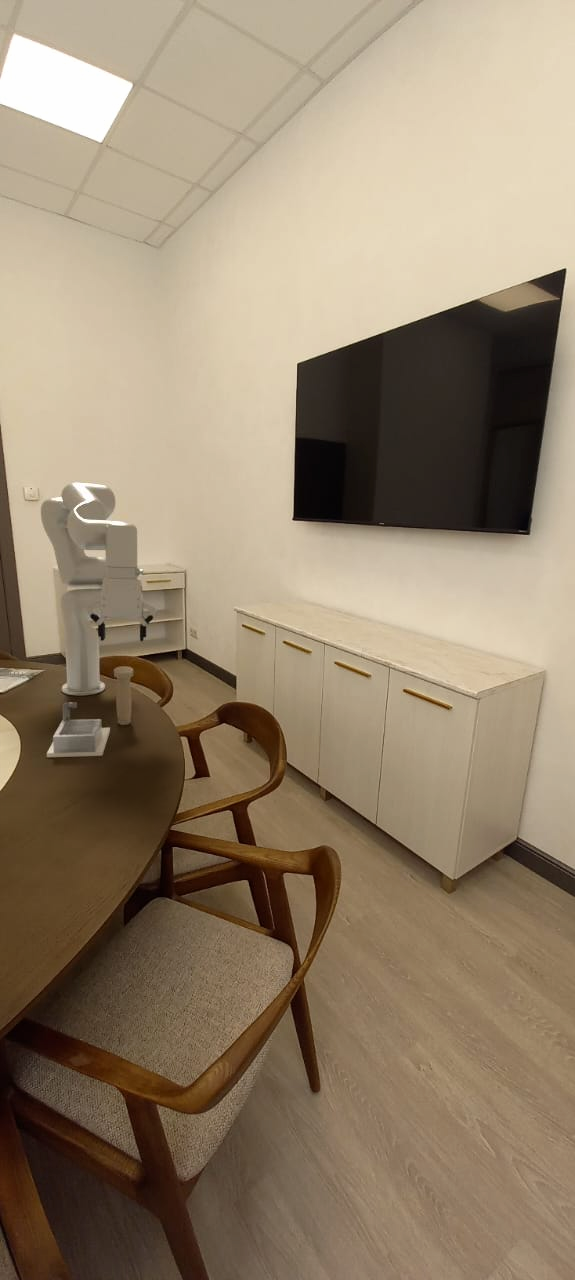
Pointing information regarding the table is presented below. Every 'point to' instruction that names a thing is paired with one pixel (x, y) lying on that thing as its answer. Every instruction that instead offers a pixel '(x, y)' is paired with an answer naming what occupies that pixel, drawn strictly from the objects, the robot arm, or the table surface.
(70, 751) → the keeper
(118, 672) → the handle
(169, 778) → the table surface
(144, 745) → the table surface
